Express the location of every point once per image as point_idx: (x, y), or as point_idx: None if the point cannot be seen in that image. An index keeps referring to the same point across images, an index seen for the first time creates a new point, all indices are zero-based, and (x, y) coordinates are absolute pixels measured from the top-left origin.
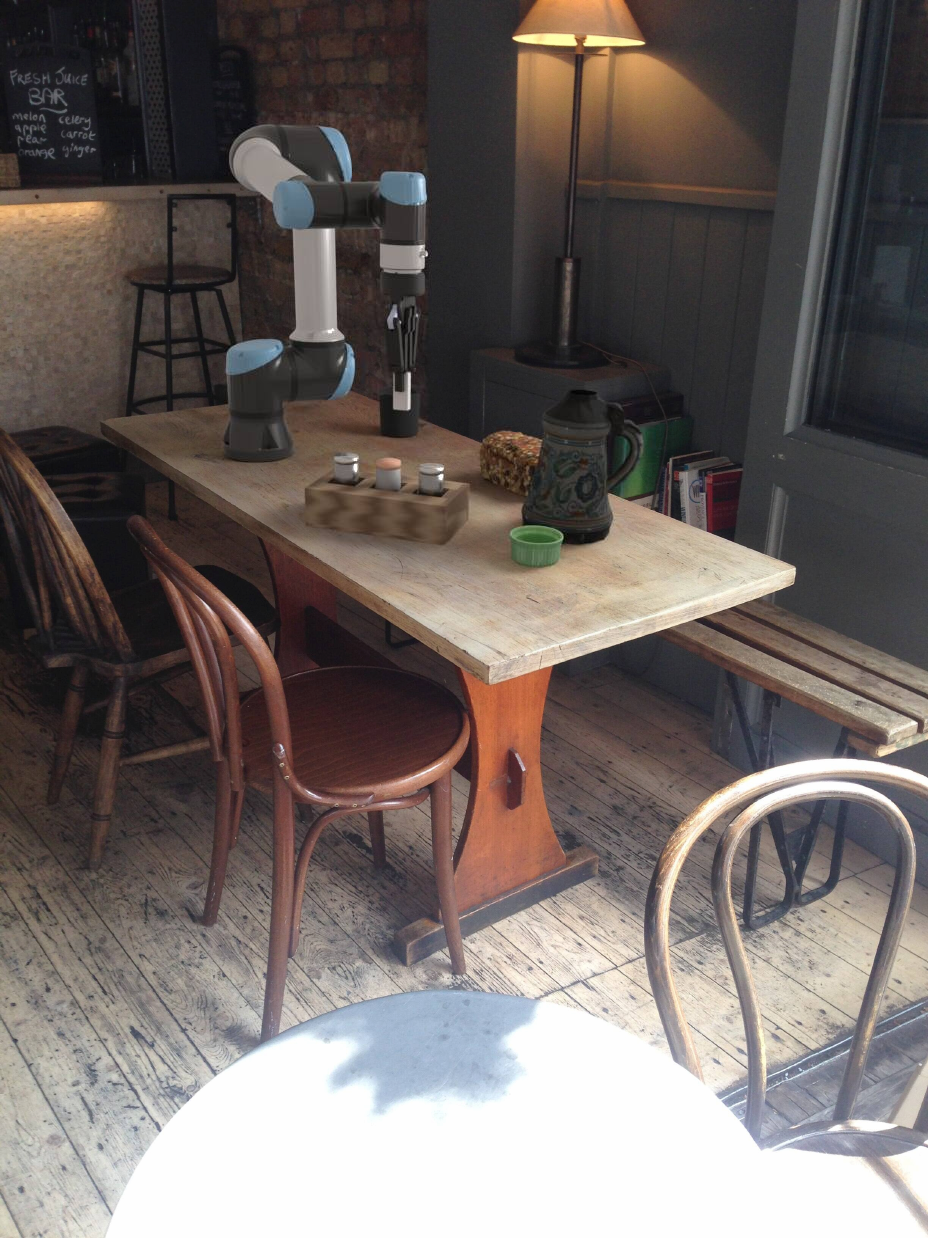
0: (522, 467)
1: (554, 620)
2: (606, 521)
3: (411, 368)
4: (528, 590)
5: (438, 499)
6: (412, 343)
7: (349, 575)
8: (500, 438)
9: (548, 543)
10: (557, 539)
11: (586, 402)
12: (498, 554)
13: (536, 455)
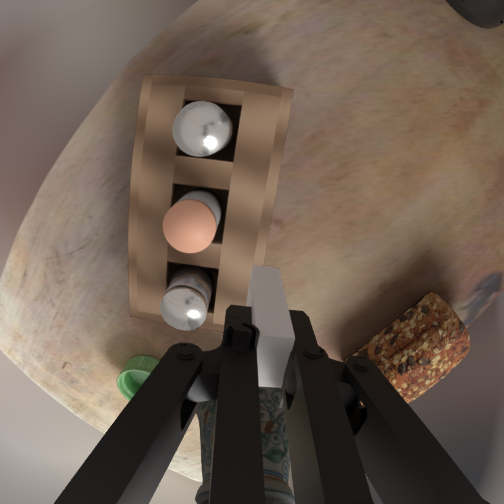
0: None
1: (45, 374)
2: None
3: (281, 400)
4: (78, 364)
5: (155, 304)
6: (367, 465)
7: (33, 204)
8: (438, 348)
9: (125, 397)
10: None
11: None
12: (144, 343)
13: None
